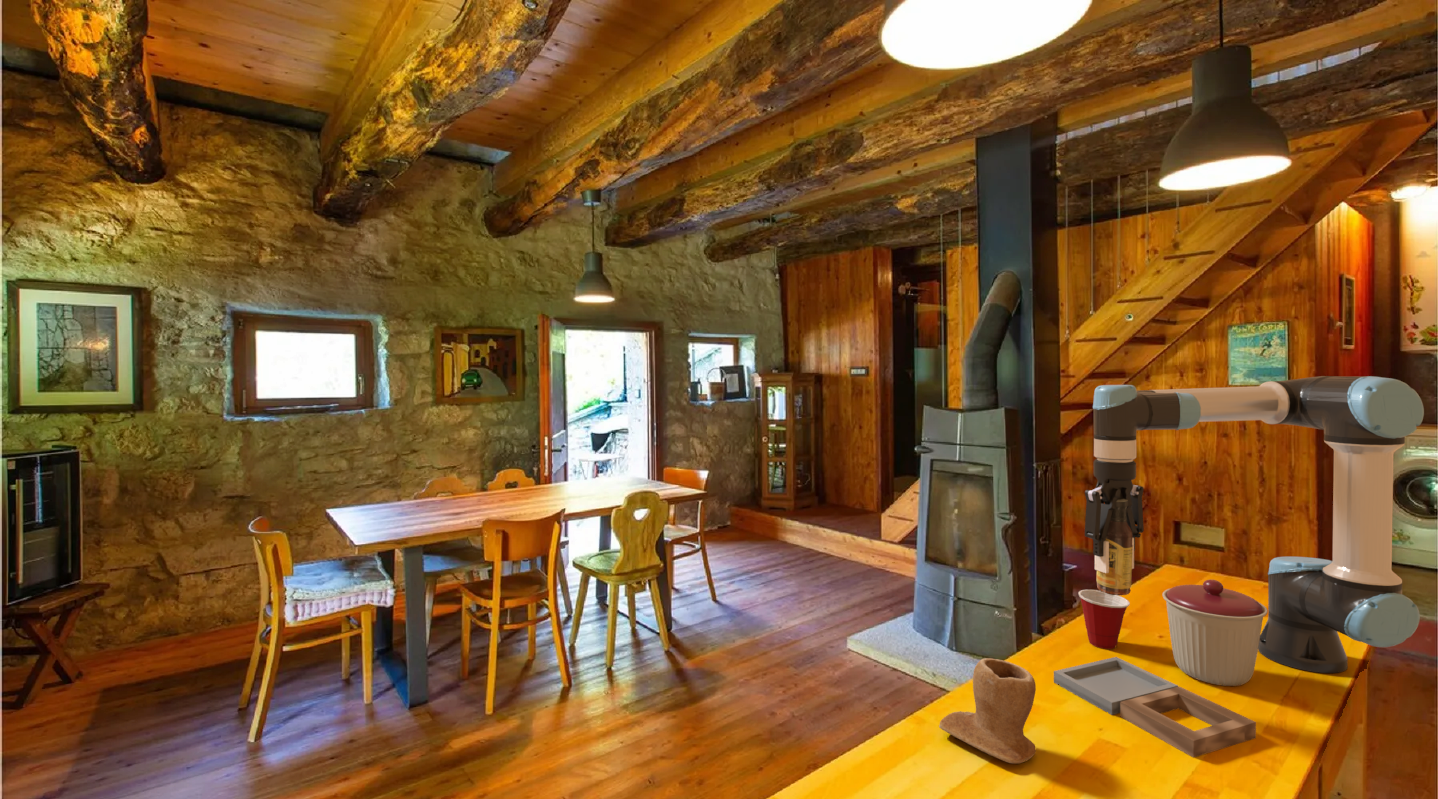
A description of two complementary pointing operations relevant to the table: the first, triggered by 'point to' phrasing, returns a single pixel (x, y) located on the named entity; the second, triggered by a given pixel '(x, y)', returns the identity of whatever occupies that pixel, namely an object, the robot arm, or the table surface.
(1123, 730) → the table surface
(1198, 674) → the canister
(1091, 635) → the plastic cup
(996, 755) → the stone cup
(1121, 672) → the tray
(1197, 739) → the bottle stand
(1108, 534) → the sauce bottle
